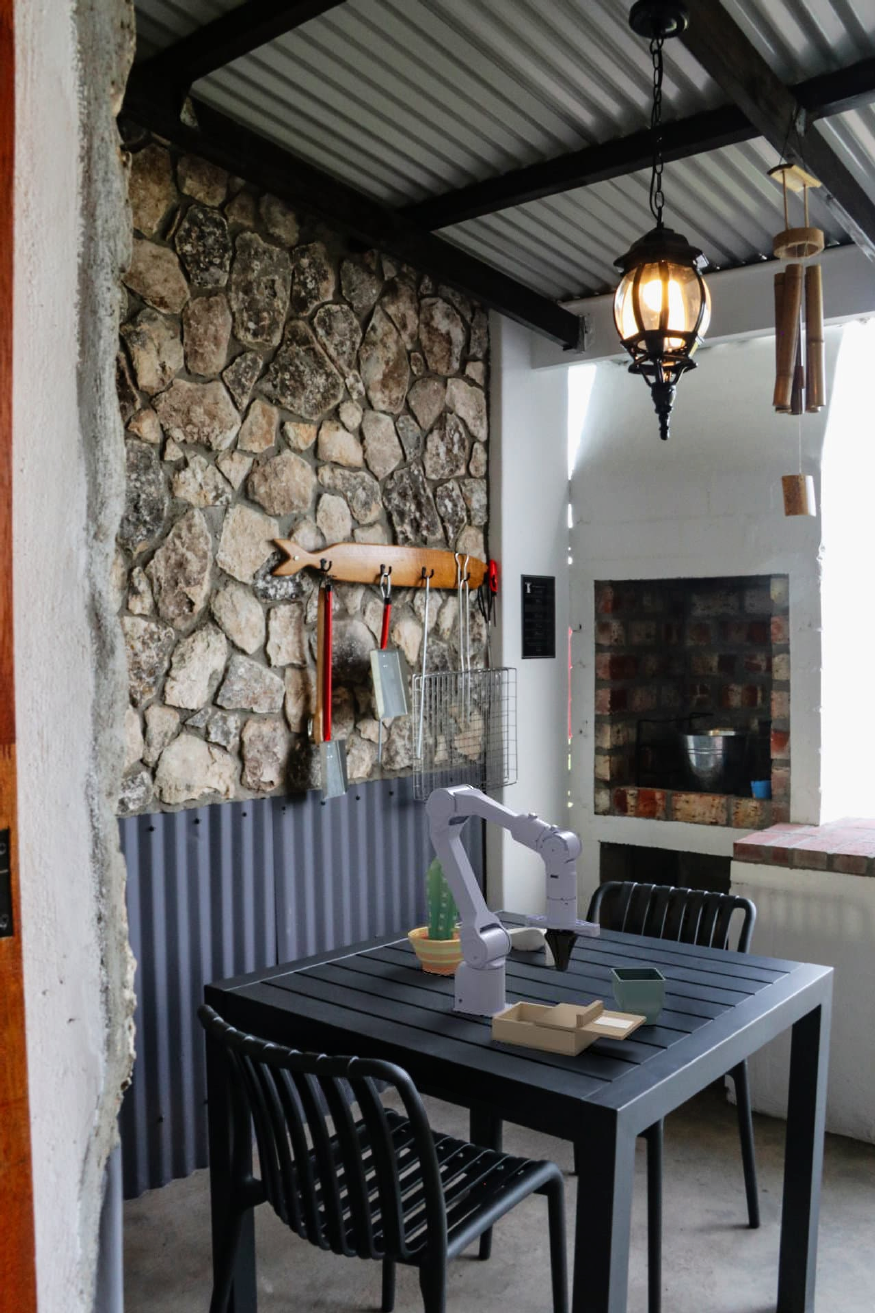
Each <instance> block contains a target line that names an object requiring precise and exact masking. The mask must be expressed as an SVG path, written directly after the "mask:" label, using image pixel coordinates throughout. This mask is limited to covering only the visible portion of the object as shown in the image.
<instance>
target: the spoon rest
mask: <svg viewBox="0 0 875 1313" xmlns="http://www.w3.org/2000/svg"><path fill="white" fill-rule="evenodd" d="M506 930H507V931H508V933H509V935H510V937H511V942H512V946H511V947H513V948H514V949H516V950H517V951H527V950H528V951H536V950H540V948H541V947H542V946H544V945H545V966H546V967H554V966H555V962H554V958H553V955H552V952H551V950H550V947H549V945H548V943H547V942H546V940H545V938H544V934H545V933H546V931H547V929H542V928H535V927H530V928H527V927H518V928H510V929H506Z"/></svg>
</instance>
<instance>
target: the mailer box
mask: <svg viewBox="0 0 875 1313" xmlns="http://www.w3.org/2000/svg"><path fill="white" fill-rule="evenodd" d="M554 1007H555V1006H550V1005H544V1004H543V1005H542V1004H538V1003H532V1002H527V1001H526V1002H525V1001H518V1002H517V1003H514V1004H513V1006H512V1007H510V1008H508V1009H507V1010H505V1011H503V1012H502V1013H500V1014H498V1015H497V1016H495V1017H493V1018H491V1019H492V1020H491V1021H492V1022H491V1024H492V1025H491V1026H492V1027H491V1028H492V1030H491V1032H492V1034H491V1036H492V1037H491V1038H492V1040H493V1039H496V1040H500V1041H505V1042H507V1043H506V1044H508V1043H513V1044H515V1045H514V1046H518V1045H521V1046H520V1047H524V1048H530V1049H533V1050H534V1049H536V1050H540V1051H544V1052H545V1051H546V1052H550V1053H555V1054H556V1053H557V1054H560V1055H561V1054H562V1055H566V1056H571V1057H576V1056H578V1054H579V1053H581V1052H583V1051H584V1050H585V1049H586V1048H588V1047H589V1046H590V1045H591V1044H594V1042H595V1041H597V1040H598V1039H599V1038H601V1036H595V1035H590V1034H584V1033H579V1032H573V1031H567V1030H562V1029H556V1028H551V1027H545V1026H539V1025H534V1024H533V1021H534V1020H536V1019H537V1018H539V1017H540V1016H542V1015H543V1014H545V1013H546V1012H548V1011H549V1010H551V1009H553V1008H554ZM513 1044H512V1045H513Z"/></svg>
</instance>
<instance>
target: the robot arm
mask: <svg viewBox="0 0 875 1313" xmlns="http://www.w3.org/2000/svg"><path fill="white" fill-rule="evenodd" d="M424 809H425V811H426V814H427V817H428V820H429V821H428V824H429V825H428V826H429V830H428V831H429V838H430V841H431V843H432V847H433V849H434V852H435V854H436V856H437V857H438V859H439V862H440V864H441V867H442V870H443V872H444V875H445V877H446V880H447V883H448V885H449V888H450V890H451V893H452V895H453V898H454V901H455V903H456V906H457V908H458V914H459V916H460V918H461V923H460V928H459V931H458V936H459V938H460V943H461V955H462V957H463V959H464V961H463V962H461V963H460V964H459V965H458V967H457V970H456V973H455V974H454V1007H453V1009H452V1011H454V1012H458V1011H460V1013H464V1014H469V1013H470V1014H471V1015H474V1016H475V1015H476V1016H480V1015H484V1016H483V1017H486V1016H487V1018H491V1017H495V1016H497V1015H498V1014H500V1013H502V1012H503V1011H505V1010H507V1009H508V1008H510V1007H512V1006H513V1005H514V1004H512V1003H507V1002H506V962H507V958H506V956H507V955H508V954H509V953H510V952H511V949H512V947H513V946H512V942H511V937H510V935H509V933H508V931H507V930H508V929H506V928H505V927H504V925H503V924H502V923H501V921H500V920H501V919H499V917H498V916H497V915H496V914H494V913H492V912H491V911H490V910H489V909H488V907H487V904H486V901H485V898H484V897H483V894H482V891H481V889H480V887H479V883H478V881H477V879H476V875H475V872H474V871H473V868H472V866H471V864H470V861H469V858H468V856H467V853H466V851H465V848H464V845H463V843H462V841H461V839H460V834H461V833H462V830H463V827H464V826H465V824H466V823H467V822H468V820H470V818H471V817H472V816H478V817H481V818H483V819H485V820H487V821H488V822H491V823H493V824H496V825H498V826H499V827H502V828H504V829H506V830H507V831H509V832H510V835H511V837H512V839H513V840H514V841H515V842H517V843H519V844H521V845H523V846H525V847H526V848H528V849H530V850H532V851H534V852H535V853H537V854H539V855H540V858H541V859H542V860H543V862H544V865H545V867H544V868H545V869H544V870H545V913H546V914H545V915H531V914H529V915H526V916H525V917H524V928H530V927H535V928H542V929H547V931H546V933H545V934H544V938H545V940H546V942H547V943H548V945H549V947H550V950H551V952H552V955H553V958H554V962H555V965H554V966H555V970H556V972H561V973H564V972H566V971H568V968H569V964H570V959H571V955H572V952H573V949H574V947H575V945H576V942H577V940H578V938H579V937H580V935H585V936H590V937H592V938H596V937H599V936H600V935H601V933H600V932H601V928H600V927H601V925H600V924H599V923H594V922H589V921H585V920H581V919H578V876H577V875H578V874H577V873H578V871H577V869H578V868H577V867H578V864H577V863H578V862H577V859H578V858H579V857H580V855H581V853H582V850H583V843H582V841H581V838H580V837H579V835H578V834H577V833H575V832H574V831H573V830H571V829H563V830H560V829H559V826H558V825H556V824H552V825H551V824H549V823H547V822H546V821H544V820H543V819H542V820H541V819H540V818H538V817H539V816H538V814H537V813H536V812H529V813H528V812H523V813H521V814H520V815H519V814H517V813H516V812H514V811H513V810H511V809H509V808H508V807H506V806H504V805H503V804H501V803H499V802H498V801H496V800H494V799H492V798H491V797H490V796H488V795H487V794H485V793H483V790H481V789H479V788H475V787H473V786H472V785H470V784H468V783H462V784H459V785H456V786H451V787H440V788H435V789H434V790H433V791H432V792H431V793H430V794H429V796H428V799H427V800H426V803H425V805H424Z"/></svg>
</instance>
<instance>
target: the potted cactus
mask: <svg viewBox="0 0 875 1313" xmlns="http://www.w3.org/2000/svg"><path fill="white" fill-rule="evenodd" d="M425 887H426V897H427V902H428V906H429V907H428V918H427V919H428V922H427V924H428V925H427V926H423V927H419V928H415V929H412V930H411V931H409V932H408V933H407V937H408V941H409V942H410V944H411V945H412V946H413V949H414V952H415V954H416V957H417V958H418V959H419V961H420V962H421V964H422V965H423V966H422V969H424V970H425V971H427V972H431V973H439V974H452V973H453V974H454V973H456V970H457V967H458V965H459V964H460V963H461V962H463V961H464V959H463V957H462V955H461V943H460V938H459V936H458V931H459V928H460V926H461V925H460V926H457V925H456V923H457V920H458V919H457V918H458V914H459V911H458V908H457V906H456V903H455V901H454V898H453V895H452V893H451V890H450V888H449V885H448V883H447V880H446V877H445V875H444V872H443V870H442V867H441V864H440V862H439V859H438V857H437V855H436V856H435V857H434V859H433V861H432V862H431V863H430V864H429V866H428V868H427V870H426V872H425ZM454 975H455V974H454Z"/></svg>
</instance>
